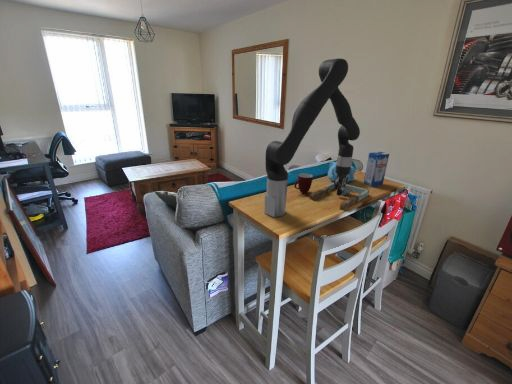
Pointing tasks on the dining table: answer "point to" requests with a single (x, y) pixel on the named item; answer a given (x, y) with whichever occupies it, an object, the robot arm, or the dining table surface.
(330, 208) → the dining table surface
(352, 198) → the slot rails
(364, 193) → the corral
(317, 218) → the dining table surface
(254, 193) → the dining table surface
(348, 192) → the chip puck
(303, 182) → the mug
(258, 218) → the dining table surface
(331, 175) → the decorative pot
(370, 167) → the milk carton
